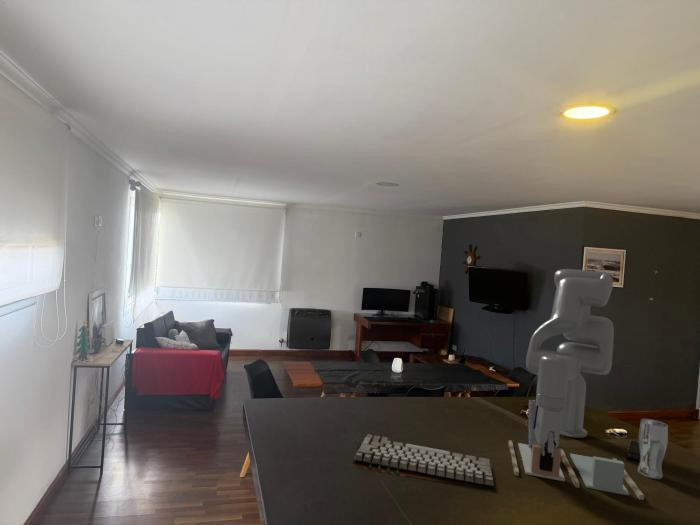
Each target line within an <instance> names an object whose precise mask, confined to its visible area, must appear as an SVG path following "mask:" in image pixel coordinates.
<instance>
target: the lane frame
mask: <svg viewBox="0 0 700 525" xmlns="http://www.w3.org/2000/svg"><path fill="white" fill-rule="evenodd" d="M508 448H509V449H508V450H509V453H511V454H510V458H512V459H511V463H512V464H511V465H512V467H513V468H512V469H513V473H514V476H515V477H519V476H520V471H519V470H520V469H519V465H518V463H517V462H518V461H517V457H516V452H515V449H514V444H513V440H512V439H511V440H510V439H509V440H508ZM559 449H560V450H561V457H562V458H561V460H562V459H563V460H562V462H563V464H564V466H566V467H565V469H566V468H567V469H566V471H567V470H568V471H567V473H568V472H569V473H568V475H569V477H570V479H571V481H572V484H573V487H574V488H578V489H579V488H580V485H581V484H580V481H579V479H578V477H577V475H576V473H575V471H574V469H573V468H572V465H571V463H570V461H569V459H568V458H567V455H566V454H565V451H564V449H563V448H559ZM612 460H618V459H617V458H616V457H612ZM623 480H625V482H626V483H627V485H628V486H629V487H630V488H631V490H632V492H633V493H634V494H635V496H636V497H637V498H638V499H639V500H640V501H641V500H642V501H644V500H645V494H644V493H643V492H642V491H641V489H640V488H639V487H638V485H637V484H636V482H635V481H634V480H633V479H632V477H631V476H630V475H629V474H628V472H627V470H626V469H625V468H624V478H623Z"/></svg>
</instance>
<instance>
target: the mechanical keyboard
mask: <svg viewBox="0 0 700 525" xmlns="http://www.w3.org/2000/svg"><path fill="white" fill-rule="evenodd" d="M356 449H357V450H356V453H355V456H354V459H353V461H352V464H353V465H355V467H356V468H359V469H365V470H369V471H375V472H379V473H380V472H381V473H386V474H391V475H396V476H402V477H412V478H416V479H422V480H427V481H434V482H439V483H446V484H447V483H451V484H453V483H455V484H458V485H464V486H469V487H474V488H475V487H476V488H481V489H486V490H489V491H492V490H493V491H495V490H496V489H495V483H494V477H493V472H492V465H491V461H490V458H484V457H479V458H478V460H477V456H474V455H469V454H465V456H464V454H462V453H458V452H450V451H449V450H443V449H438V448H432V447H428V446H421V445H417V444H412V443H411V444H410V443H405V445H404V442H399V441H398V442H397V441H393V442H391V440H390V439H389V437H387V436H382V437H381V436H380V435H374V436H373V435H372V434H370V433H369V434H367V435H366V437H364V440H363V442H359V444H358V445H357V448H356Z"/></svg>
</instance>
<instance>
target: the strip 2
mask: <svg viewBox="0 0 700 525" xmlns="http://www.w3.org/2000/svg"><path fill="white" fill-rule="evenodd" d="M569 456H570V458H571V461H572V462H573V464H574V466H575V468H576V470H577V469H578V470H577V472H578V471H579V472H578V474H579V476H580V477H581V479H582V481H583V484H584V485H585V487H586V488H588V489H592V490H598V491H602V492H609V493H612V494H617V495H625V496H630V492H629V491H628V489H627V488H626V486H625V485H624V469H625V465H626V464H625V463H624V462H623V461H622V460H618V459H617V460H612V459H611V458H605V457H601V456H594V455H593V456H587V455H580V454H575V453H569Z"/></svg>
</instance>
